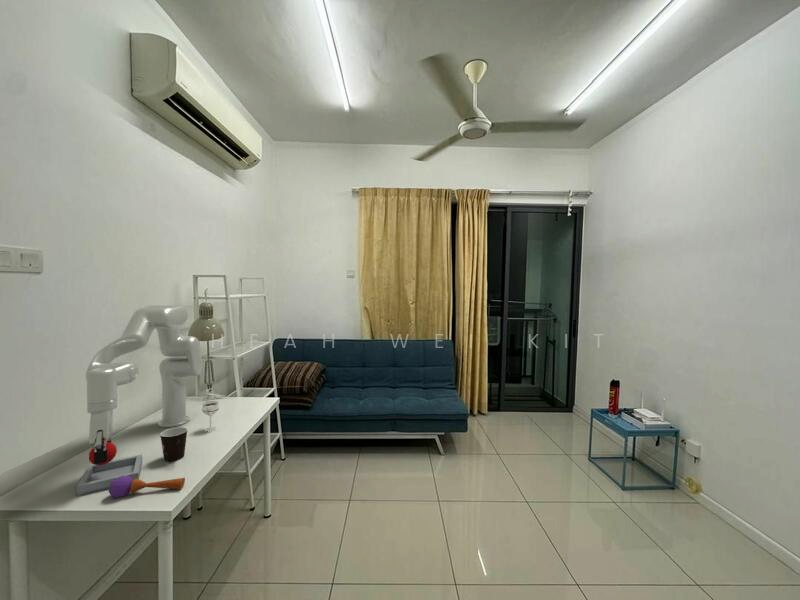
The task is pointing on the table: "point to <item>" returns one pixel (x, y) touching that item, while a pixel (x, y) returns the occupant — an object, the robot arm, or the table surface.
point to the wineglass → (210, 411)
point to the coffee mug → (173, 443)
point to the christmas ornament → (110, 453)
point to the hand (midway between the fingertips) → (103, 457)
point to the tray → (108, 474)
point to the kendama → (140, 485)
